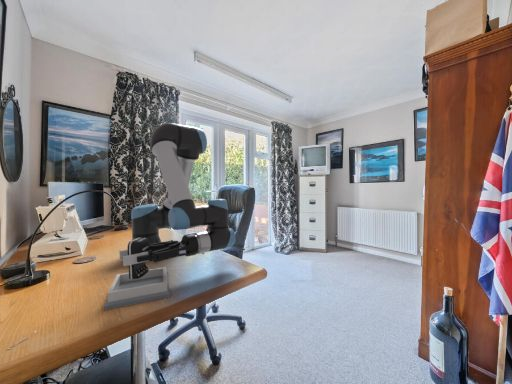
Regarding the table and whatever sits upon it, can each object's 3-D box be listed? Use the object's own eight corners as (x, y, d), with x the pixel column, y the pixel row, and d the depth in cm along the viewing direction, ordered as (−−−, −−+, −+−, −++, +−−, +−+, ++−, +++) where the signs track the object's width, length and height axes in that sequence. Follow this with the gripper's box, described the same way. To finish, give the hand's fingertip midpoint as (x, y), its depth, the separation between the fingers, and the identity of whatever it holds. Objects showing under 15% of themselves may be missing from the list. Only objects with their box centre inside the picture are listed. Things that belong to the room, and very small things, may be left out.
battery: (140, 280, 65) (139, 241, 65) (128, 280, 65) (126, 242, 65) (152, 271, 72) (151, 236, 72) (141, 271, 72) (139, 236, 72)
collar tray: (116, 282, 74) (116, 272, 74) (167, 274, 81) (167, 264, 81) (104, 310, 58) (103, 297, 58) (169, 296, 64) (169, 285, 64)
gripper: (207, 261, 72) (127, 281, 58) (185, 248, 88) (117, 262, 74) (207, 238, 72) (125, 253, 58) (184, 229, 87) (116, 239, 73)
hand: (121, 258), depth 66 cm, fingers closed on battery, 7 cm apart
